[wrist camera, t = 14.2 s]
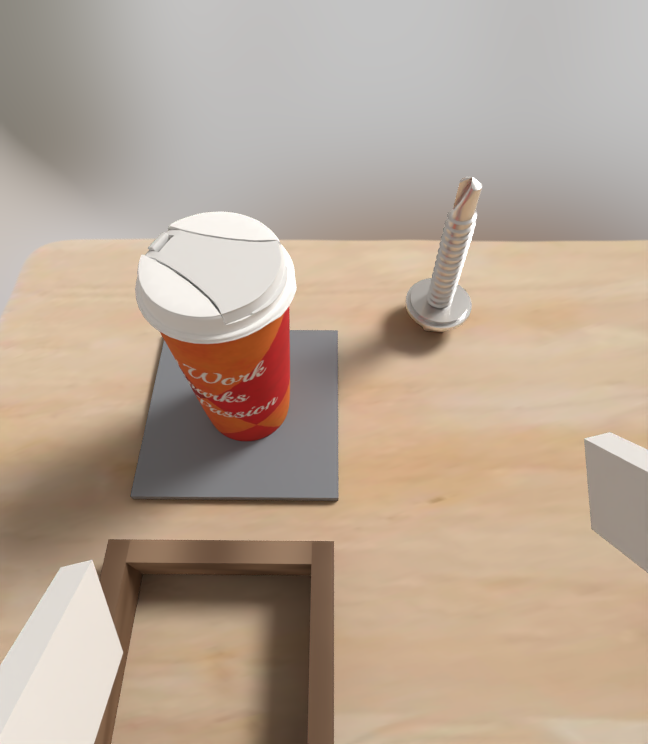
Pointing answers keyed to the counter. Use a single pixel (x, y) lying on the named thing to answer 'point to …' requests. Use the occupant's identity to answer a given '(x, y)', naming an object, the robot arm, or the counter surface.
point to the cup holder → (228, 558)
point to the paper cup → (224, 316)
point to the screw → (448, 268)
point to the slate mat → (245, 458)
